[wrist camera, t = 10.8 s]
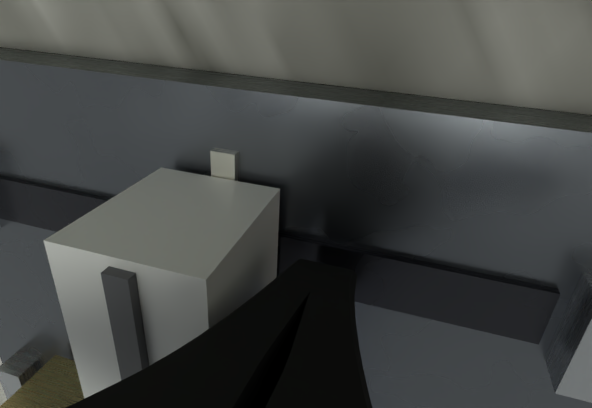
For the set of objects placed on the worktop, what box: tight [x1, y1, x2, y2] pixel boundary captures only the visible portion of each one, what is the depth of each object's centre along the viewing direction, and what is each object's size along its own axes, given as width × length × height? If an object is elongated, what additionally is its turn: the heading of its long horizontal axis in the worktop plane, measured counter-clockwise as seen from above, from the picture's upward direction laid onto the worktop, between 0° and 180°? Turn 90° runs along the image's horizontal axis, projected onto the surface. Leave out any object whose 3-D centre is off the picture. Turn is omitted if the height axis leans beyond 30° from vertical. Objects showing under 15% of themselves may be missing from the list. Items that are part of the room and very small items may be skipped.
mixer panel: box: [0, 48, 592, 408], centre depth 13 cm, size 16×20×2 cm
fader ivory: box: [43, 168, 280, 399], centre depth 9 cm, size 4×3×4 cm
